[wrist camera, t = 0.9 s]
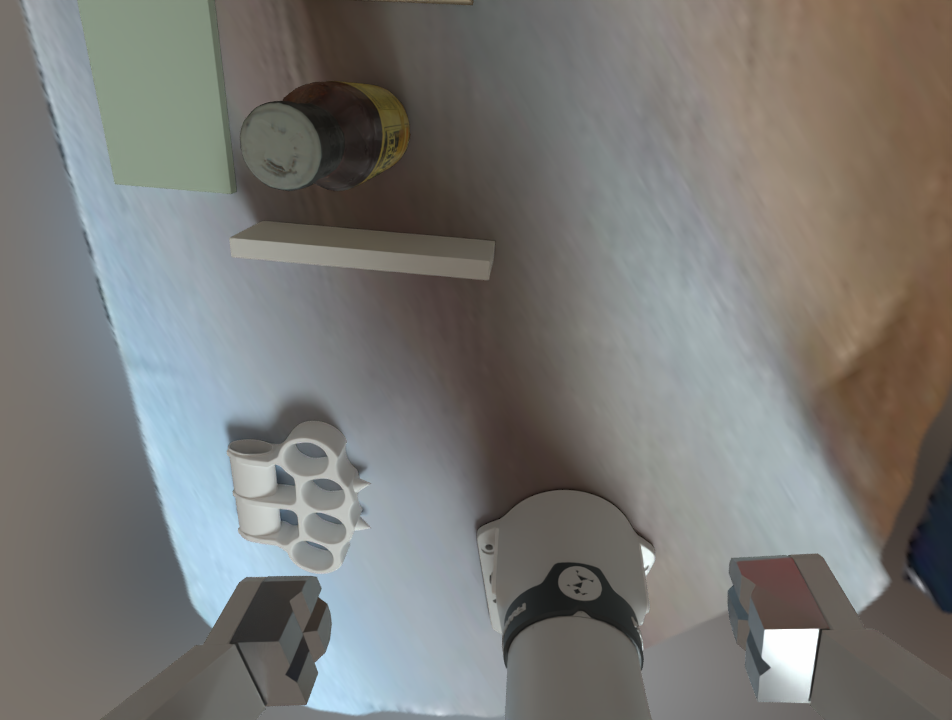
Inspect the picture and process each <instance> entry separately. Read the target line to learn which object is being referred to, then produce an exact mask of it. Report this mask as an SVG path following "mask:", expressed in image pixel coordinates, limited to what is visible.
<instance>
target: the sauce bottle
mask: <svg viewBox="0 0 952 720" xmlns="http://www.w3.org/2000/svg"><path fill="white" fill-rule="evenodd" d="M409 139H410V128H409V120H408V117H407V114H406V111H405V109H404V107H403V105H402V103H401V102H400V101H399V100H398V99H397V98H396V97H395V96H394V95H393V94H392V93H391V92H389V91H388V90H386V89H384V88H382V87H379V86H376V85H370V84H360V83H348V82H339V81H326V82H313V83H310V84H305V85H303V86H301V87H298V88H296V89H295V90H293V91H292V92H291V93H289V94H288V95H287V96H286V97H284V99H283V101H274V102H268V103H265V104H262V105H260V106H258V107H256V108H255V109H254V110H253V111H252V112H251V113H250V114H249V115H248V117H247V118H246V119H245V120H244V122H243V125H242V128H241V133H240V142H241V150H242V154H243V158H244V160H245V162H246V164H247V166H248V168H249V169H250V170H251V172H252V173H253V174H254V176H256V177H257V178H258V179H259V180H260V181H262V182H263V183H264V184H266V185H267V186H270V187H272V188H276V189H279V190H287V191H292V190H297V189H302V188H305V187H308V186H310V185H312V184H313V183H314V184H317V185H319V186H321V187H323V188H325V189H328V190H333V191H342V190H347V189H350V188H353V187H355V186H357V185H359V184H362V183H363V182H366V181H367V180H369V179H371V178H372V177H374V176H376V175H378V174H380V173H381V172H383V171H385V170H387V169H388V168H390V167H392V166H393V165H394V164H396V163H397V162H398V161H399V160H400V159H401V157H402V156H403V154H404V153H405V151H406V148H407V146H408V142H409Z"/></svg>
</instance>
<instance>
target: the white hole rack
mask: <svg viewBox="0 0 952 720" xmlns="http://www.w3.org/2000/svg"><path fill="white" fill-rule="evenodd" d="M303 442H308V443H313V444H315V445H317V446H319V447H321V448H322V449H323V450H324V451H325V453H326V454H327V457H320V458H312V457H308V456H306V455H304V454H303V453H301V452H300V451H299V450H298V448H297V447H296V443H303ZM346 443H347V440H346V438H345V436H344V435H343V434H342V433H341V432H340V431H339V430H338V429H337V428H335V427H334V426H332V425H330V424H328V423H325V422H321V421H306V422H303V423H301V424H299V425H297V426H296V427H295V428H294V429H293V430H292V432H291V433H290V434H289V436H288V437H287V439H286V440H285V442H283V443H281V444H273V443H268V442H265V441H262V440H254V439H244V440H237V441H233V442H231V443H230V444H229V446H228V448H229V449H228V450H227V455H228V456H229V457H230V462H231V470H232V477H233V484H234V490H233V496H234V497H235V498H236V505H237V512H238V519H239V526H240V527H239V528H238V532H239V534H241V536H242V537H243V538H244V539H246V540H248V541H251V542H255V543H261V544H269V545H276V546H278V547H280V548H282V549H283V550H285V551H286V552H287V553H288V555H289V557H290V558H291V560H292V561H293V562H294V563H295V564H296V565H297V566H299V567H300V568H302V569H303V570H306V571H308V572H311V573H317V574H326V573H330V572H333V571H335V570H337V569H338V568H339V567H340V566H341V565H342V564H343V562H344V559H345V557H346V554H347V552H348V549H349V547H350V542H349V541H350V540H351V538H352V536H353V533H354V531H357V530H362V529H368V528H371V527H370V526H369V525H368V524H367V523H366V522H365V521H364V520H363V519H362V518H361V517H360V515H361V512H362V507H361V506H360V504H359V501H358V493H359V491H360V490H362V489H363V488H365V487H366V486H368V485H369V484H371V483H369V482H367V481H364V480H362V479H360V477H359V474H358V471H357V469H356V468H355V467H354V466H353V465H352V464H351V463H350V462H349V460H348V458H347V455H346ZM275 465H279V466H281V467H282V468H283V469H284V470H285V471H286V472H287V473H288V474H289V475H291V476H292V477H293V478H294V480H295V486H293V485H285V484H277V477H276V468H275ZM321 478H325V479H330V480H332V481H334V482H336V483H338V484H339V485H340V486H341V487H342V489H343V490H337V491H327V490H324V489H321V488H320V487H318V486H317V485H316V484H315V483H314V481H313V479H321ZM280 509H286V510H291V511H293V512H295V513H296V514H297V516H298V525H291V524H289V523H288V522H286V521H281V517H280ZM316 513H324V514H327V515H330V516H333V517H335V518H337V519H339V520H340V521H341V522H342V523H343V524H335V523H332V522H329V521H326V520H324V519H322V518H320V517H319V516H318V515H317V514H316ZM306 541H311V542H314V543H317V544H320V545H322V546H324V547H326V548H327V549H328V550H322V549H319V548H316V547H314V546H311V545H310V544H308V543H307V542H306Z"/></svg>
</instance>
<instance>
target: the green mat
mask: <svg viewBox="0 0 952 720" xmlns="http://www.w3.org/2000/svg"><path fill="white" fill-rule="evenodd" d="M77 2H78V7H79V12H80V16H81V21H82V26H83V31H84V36H85V41H86V46H87V50H88V55H89V60H90V65H91V70H92V75H93V80H94V85H95V89H96V94H97V99H98V104H99V109H100V114H101V119H102V123H103V128H104V133H105V138H106V143H107V148H108V153H109V158H110V162H111V167H112V172H113V177H114V182H115V184H119V185H131V186H142V187H154V188H166V189H178V190H190V191H201V192H213V193H225V194H233V193H235V192H237V189H236V181H235V172H234V163H233V155H232V146H231V137H230V129H229V120H228V112H227V103H226V94H225V86H224V77H223V68H222V60H221V51H220V43H219V34H218V25H217V17H216V8H215V0H77Z"/></svg>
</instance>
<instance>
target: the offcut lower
mask: <svg viewBox="0 0 952 720" xmlns="http://www.w3.org/2000/svg"><path fill="white" fill-rule="evenodd" d="M359 1H383V2H407V3H432V4H456V5H473V0H359Z"/></svg>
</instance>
